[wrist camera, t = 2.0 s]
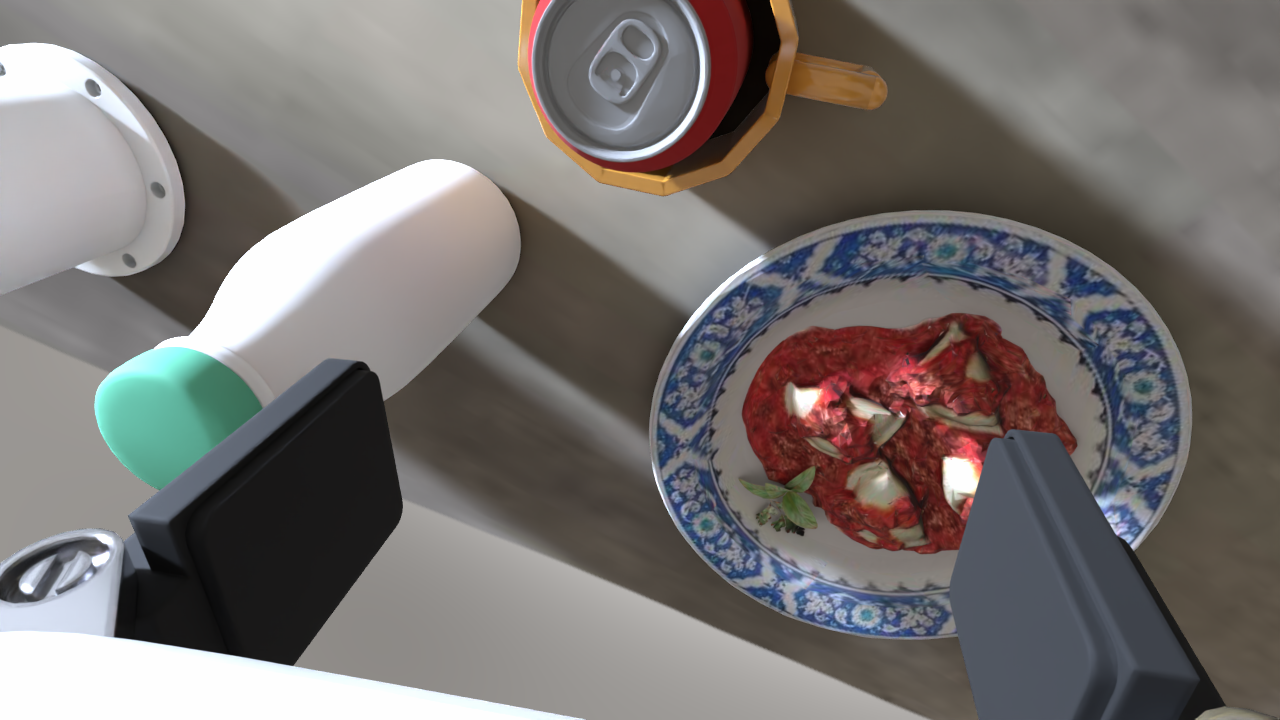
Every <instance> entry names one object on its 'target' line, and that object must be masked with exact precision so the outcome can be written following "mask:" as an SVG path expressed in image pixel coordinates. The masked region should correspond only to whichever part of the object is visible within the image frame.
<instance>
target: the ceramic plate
mask: <svg viewBox="0 0 1280 720" xmlns="http://www.w3.org/2000/svg"><path fill="white" fill-rule="evenodd" d="M1011 429H1016V430H1025V431H1035V432H1045V433H1053V434H1056V435H1057V436H1058V437H1059V438H1060V439H1061V441H1062V443H1063V445H1064V446H1065V448H1066V450H1067V451H1068V453H1069V455H1070V457H1071V458H1072V460H1073V462H1074V463H1075V465H1076V467H1077V469H1078V470H1079V472H1080V474H1081V476H1082V477H1083V479H1084V481H1085V482H1086V484H1087V486H1088V488H1089V489H1090V491H1091V493H1092V494H1093V496H1094V498H1095V500H1096V501H1097V503H1098V505H1099V506H1100V508H1101V510H1102V512H1103V513H1104V515H1105V517H1106V518H1107V520H1108V522H1109V524H1110V525H1111V527H1112V529H1113V530H1114V532H1115V534H1116V536H1119V537H1121V538H1123V539H1125V540H1126V542H1127V543H1128V544H1129V545H1130V547H1131V548H1132V549H1133V551H1135V550H1136V549H1137V548H1138V547H1139V546H1140V544H1141V543H1142V542H1143V541H1144V540H1145V538H1146V537H1147V536H1148V535H1149V534H1150V532H1151V531H1152V530H1153V529H1154V528H1155V526H1156V525H1157V524H1158V522H1159V521H1160V519H1161V517H1162V516H1163V514H1164V512H1165V511H1166V509H1167V507H1168V505H1169V503H1170V501H1171V499H1172V497H1173V495H1174V493H1175V491H1176V489H1177V487H1178V485H1179V482H1180V479H1181V476H1182V474H1183V471H1184V468H1185V465H1186V463H1187V458H1188V453H1189V448H1190V442H1191V430H1192V402H1191V393H1190V388H1189V382H1188V377H1187V373H1186V370H1185V367H1184V364H1183V361H1182V358H1181V355H1180V352H1179V350H1178V348H1177V346H1176V344H1175V342H1174V340H1173V338H1172V336H1171V334H1170V332H1169V330H1168V328H1167V326H1166V325H1165V323H1164V322H1163V321H1162V319H1161V318H1160V316H1159V315H1158V313H1157V312H1156V310H1155V309H1154V307H1153V306H1152V305H1151V304H1150V303H1149V302H1148V301H1147V299H1146V298H1145V297H1144V296H1143V295H1142V294H1141V293H1140V292H1139V291H1138V289H1137V288H1136V287H1135V286H1134V285H1132V284H1131V283H1130V282H1129V281H1128V280H1127V279H1126V278H1124V277H1123V276H1122V275H1121V274H1120V273H1119V272H1118V271H1116V270H1115V269H1114V268H1113V267H1111V266H1110V265H1108V264H1107V263H1105V262H1104V261H1102V260H1101V259H1099V258H1098V257H1097V256H1095V255H1094V254H1092V253H1091V252H1089V251H1087V250H1085V249H1083V248H1081V247H1079V246H1077V245H1076V244H1074V243H1072V242H1070V241H1068V240H1066V239H1064V238H1062V237H1059V236H1057V235H1054V234H1052V233H1049V232H1047V231H1044V230H1042V229H1039V228H1037V227H1033V226H1030V225H1027V224H1023V223H1020V222H1016V221H1013V220H1009V219H1006V218H1000V217H995V216H990V215H984V214H979V213H971V212H960V211H949V210H911V211H900V212H889V213H881V214H876V215H870V216H865V217H859V218H854V219H850V220H847V221H843V222H839V223H836V224H832V225H829V226H825V227H822V228H820V229H817V230H815V231H812V232H809V233H807V234H804V235H801V236H799V237H796V238H794V239H792V240H790V241H788V242H786V243H784V244H782V245H780V246H778V247H776V248H774V249H772V250H770V251H769V252H767V253H765V254H764V255H762V256H760V257H759V258H757V259H756V260H754V261H752V262H751V263H749V264H748V265H746V266H745V267H744V268H742V269H741V270H740V271H738V272H737V273H736V274H734V275H733V276H732V277H730V278H729V279H728V280H727V281H726V282H724V283H723V284H722V285H721V286H720V287H719V288H718V289H717V290H716V291H715V292H714V293H712V294H711V295H710V296H709V297H708V299H707V300H706V301H705V302H704V303H703V304H702V305H701V306H700V307H699V309H698V310H697V311H696V312H695V313H694V314H693V315H692V317H691V318H690V320H689V321H688V322H687V324H686V325H685V327H684V328H683V329H682V331H681V332H680V334H679V335H678V337H677V338H676V340H675V342H674V344H673V346H672V348H671V350H670V352H669V354H668V356H667V358H666V360H665V362H664V365H663V367H662V369H661V371H660V374H659V377H658V380H657V384H656V387H655V391H654V394H653V400H652V407H651V413H650V423H649V443H650V455H651V461H652V467H653V472H654V476H655V479H656V482H657V486H658V489H659V492H660V494H661V497H662V499H663V502H664V504H665V506H666V508H667V510H668V512H669V514H670V516H671V518H672V519H673V521H674V523H675V525H676V527H677V529H678V530H679V531H680V533H681V534H682V535H683V537H684V538H685V540H686V541H687V542H688V543H689V544H690V546H691V547H692V548H693V549H694V551H695V552H696V553H697V554H698V555H699V556H700V557H701V558H702V559H703V560H704V561H705V562H706V563H707V564H708V565H709V566H710V567H711V568H712V569H713V570H714V571H715V572H716V573H718V574H719V575H720V576H721V577H722V578H723V579H725V580H726V581H727V582H728V583H729V584H730V585H732V586H733V587H735V588H737V589H738V590H740V591H741V592H743V593H744V594H746V595H748V596H749V597H751V598H753V599H754V600H756V601H758V602H759V603H761V604H763V605H765V606H767V607H769V608H771V609H773V610H775V611H777V612H779V613H781V614H783V615H785V616H788V617H791V618H793V619H796V620H799V621H802V622H805V623H808V624H811V625H814V626H817V627H821V628H825V629H829V630H833V631H837V632H841V633H846V634H851V635H856V636H861V637H867V638H881V639H902V640H921V639H937V638H948V637H957V636H958V633H957V629H956V625H955V621H954V617H953V613H952V609H951V605H950V597H949V588H950V580H951V576H952V573H953V569H954V566H955V562H956V559H957V555H958V552H959V548H960V545H961V541H962V538H963V534H964V531H965V527H966V524H967V520H968V517H969V513H970V510H971V506H972V503H973V499H974V495H975V492H976V488H977V485H978V481H979V478H980V474H981V471H982V467H983V464H984V460H985V457H986V453H987V450H988V447H989V444H990V442H991V440H992V439H993V438H1004V436H1005V435H1006V433H1007V432H1008V431H1009V430H1011Z"/></svg>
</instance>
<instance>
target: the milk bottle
mask: <svg viewBox="0 0 1280 720" xmlns="http://www.w3.org/2000/svg"><path fill="white" fill-rule="evenodd" d="M520 251H521V238H520V230H519V225H518V222H517V219H516V216H515V213H514V211H513V209H512V207H511V205H510V203H509V201H508V199H507V198H506V197H505V196H504V194H503V193H502V192H501V190H500V189H499V188H498V187H497V186H496V185H495V184H494V183H493V182H492V181H491V180H490V179H489V178H487V177H486V176H484V175H483V174H481V173H480V172H478V171H477V170H475V169H473V168H471V167H469V166H467V165H464V164H461V163H458V162H454V161H449V160H428V161H423V162H420V163H417V164H414V165H411V166H409V167H406V168H404V169H402V170H400V171H397V172H395V173H393V174H391V175H389V176H387V177H384V178H382V179H380V180H378V181H376V182H374V183H371V184H369V185H367V186H365V187H363V188H361V189H359V190H356V191H354V192H352V193H350V194H348V195H346V196H344V197H341V198H339V199H337V200H335V201H333V202H331V203H329V204H327V205H325V206H323V207H321V208H319V209H317V210H315V211H313V212H310V213H308V214H306V215H304V216H302V217H301V218H299V219H297V220H295V221H293V222H291V223H290V224H288V225H286V226H284V227H282V228H280V229H279V230H277V231H275V232H273V233H272V234H270V235H269V236H267V237H266V238H265V239H263V240H262V241H260V242H259V243H258V244H256V245H255V246H254V247H253V248H251V249H250V250H249V251H248V252H247V253H246V254H245V255H244V256H243V257H242V258H241V259H240V260H239V261H238V262H237V264H236V265H235V266H234V267H233V269H232V270H231V271H230V273H229V274H228V276H227V277H226V278H225V280H224V282H223V284H222V286H221V287H220V289H219V291H218V293H217V295H216V297H215V299H214V301H213V304H212V306H211V308H210V309H209V311H208V313H207V314H206V316H205V318H204V319H203V320H202V322H201V323H200V324H199V325H198V327H197V328H196V329H195V330H194V331H193V332H192V333H191V335H189V336H188V337H176V338H172V339H169V340H166V341H164V342H162V343H160V344H159V345H158V346H156V347H155V348H154V349H153V350H150V351H147V352H145V353H143V354H141V355H139V356H137V357H135V358H133V359H131V360H130V361H128V362H126V363H125V364H123V365H122V366H120V367H118V368H117V369H115V370H114V371H113V372H111V373H110V374H109V375H108V376H107V378H106V379H105V380H104V381H103V382H102V383H101V385H100V386H99V388H98V390H97V393H96V397H95V414H96V418H97V423H98V426H99V428H100V431H101V433H102V436H103V438H104V439H105V441H106V443H107V445H108V446H109V448H110V449H111V451H112V452H113V453H114V455H115V456H116V457H117V458H118V459H119V460H120V462H121V463H122V464H123V465H124V466H125V467H126V468H127V469H129V470H130V471H131V472H132V473H133V474H134V475H136V476H137V477H138V478H140V479H141V480H142V481H144V482H146V483H147V484H149V485H150V486H152V487H154V488H156V489H158V490H161V489H162V488H164V487H165V486H166V485H167V484H169V483H170V482H171V481H172V480H174V479H175V478H176V477H177V476H179V475H180V474H181V473H182V472H184V471H185V470H186V469H188V468H189V467H190V466H191V465H193V464H194V463H195V462H196V461H198V460H199V459H200V458H201V457H203V456H204V455H205V454H206V453H208V452H209V451H210V450H211V449H213V448H214V447H215V446H217V445H218V444H219V443H220V442H222V441H223V440H224V439H225V438H227V437H228V436H229V435H230V434H232V433H233V432H234V431H235V430H237V429H238V428H239V427H240V426H242V425H243V424H244V423H246V422H247V421H248V420H249V419H251V418H252V417H253V416H254V415H256V414H257V413H258V412H259V411H261V410H262V409H263V408H264V407H266V406H267V405H268V404H269V403H271V402H272V401H273V400H275V399H276V398H277V397H278V396H280V395H281V394H282V393H283V392H285V391H286V390H287V389H288V388H290V387H291V386H292V385H293V384H295V383H296V382H297V381H299V380H300V379H301V378H302V377H304V376H305V375H306V374H307V373H309V372H310V371H311V370H312V369H314V368H315V367H316V366H317V365H319V364H320V363H321V362H322V361H324V360H326V359H328V358H334V359H344V360H353V361H363V362H364V363H366V364H367V365H368V367H369V368H370V371H373V372H375V373H376V374H377V375H378V377H379V381H380V385H381V391H382V396H383V401H385V400H386V399H388V398H389V397H391V396H392V395H394V394H395V393H396V392H398V391H399V390H401V389H402V388H403V387H404V386H406V385H407V384H408V383H409V382H410V381H411V380H412V379H413V378H415V377H416V376H417V375H418V374H419V373H420V372H421V371H422V370H423V369H424V368H426V367H427V366H428V365H429V364H430V363H431V362H432V361H433V360H434V359H435V358H436V357H437V356H438V355H439V354H440V353H441V352H442V351H443V350H444V349H445V348H446V347H447V346H448V345H449V344H450V343H451V342H452V341H453V340H454V339H455V338H456V337H457V336H458V335H459V334H460V333H461V332H462V331H463V330H464V329H465V328H466V327H467V325H468V324H469V323H470V322H471V321H472V320H473V319H474V318H475V317H476V316H477V315H478V314H479V313H480V312H481V311H482V310H483V309H484V308H485V307H486V306H487V305H488V304H489V303H490V302H491V301H492V300H493V299H494V298H495V297H496V296H497V295H498V293H499V292H500V291H501V290H502V289H503V288H504V287H505V285H506V284H507V283H508V282H509V281H510V279H511V278H512V276H513V274H514V272H515V270H516V268H517V265H518V262H519V258H520Z"/></svg>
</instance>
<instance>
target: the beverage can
mask: <svg viewBox="0 0 1280 720" xmlns="http://www.w3.org/2000/svg"><path fill="white" fill-rule="evenodd" d="M753 43H754V32H753V23H752V18H751V14H750V10H749V8H748V5H747V2H746V0H540V2H539V4H538V6H537V8H536V11H535V14H534V17H533V20H532V24H531V29H530V35H529V43H528V66H529V74H530V80H531V84H532V88H533V92H534V95H535V98H536V100H537V103H538V105H539V107H540V109H541V112H542V114H543V115H544V117H545V119H546V120H547V122H548V124H549V125H550V126H551V128H552V129H553V131H554V132H555V133H556V134H557V135H558V137H559V138H560V139H561V140H562V141H563V142H564V143H565V144H566V145H567V146H568V147H570V148H571V149H572V150H573V151H575V152H576V153H577V154H579V155H580V156H582V157H583V158H585V159H587V160H589V161H590V162H592V163H594V164H597V165H599V166H602V167H605V168H608V169H611V170H616V171H622V172H634V173H636V172H649V171H654V170H659V169H662V168H665V167H668V166H671V165H673V164H675V163H678V162H679V161H681V160H683V159H685V158H686V157H688V156H689V155H691V154H692V153H694V152H695V151H696V150H697V149H699V148H700V147H701V146H702V145H703V144H704V143H705V142H706V141H707V140H708V139H709V137H710V136H711V135H712V134H713V133H714V131H715V130H716V129H717V127H718V126H719V124H720V122H721V121H722V119H723V118H724V116H725V114H726V113H727V111H728V110H729V108H730V106H731V104H732V103H733V101H734V99H735V97H736V95H737V93H738V91H739V89H740V87H741V85H742V83H743V81H744V79H745V76H746V74H747V71H748V69H749V66H750V62H751V58H752V53H753Z"/></svg>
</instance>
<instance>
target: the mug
mask: <svg viewBox="0 0 1280 720" xmlns="http://www.w3.org/2000/svg"><path fill="white" fill-rule="evenodd" d="M539 2H540V0H522V9H521V24H520V38H519V53H518V69H519V72H520V74H521V77H522V79H523V82H524V84H525V87H526V89H527V92H528V94H529V96H530V99H531V101H532V104H533V106H534V109H535V111H536V114H537V116H538V118H539V121H540V123H541V126H542V128H543V131H544V133H545V135H546V137H547V138H548V139H549V140H550V141H551V142H553V143H554V144H555V145H556V146H557V147H558V148H559V149H561V150H562V151H563V152H564V153H565V154H566V155H568V156H569V157H570V158H571V159H572V160H573V161H574V162H576V163H577V164H578V165H579V166H580V167H581V168H582V169H584V170H585V171H586V172H587V173H588V174H589V175H591V176H592V177H593V178H594V179H595V180H596V181H598V182H599V183H603V184H608V185H612V186H617V187H622V188H626V189H631V190H636V191H640V192H645V193H650V194H654V195H659V196H668V195H671V194H674V193H677V192H680V191H683V190H686V189H689V188H692V187H695V186H698V185H701V184H704V183H707V182H710V181H713V180H716V179H719V178H722V177H725V176H728V175H729V174H731V173H732V172H733V171H734V170H735V168H736V167H737V166H738V165H739V164H740V163H741V162H742V161H743V160H744V158H745V157H746V156H747V155H748V154H749V153H750V152H751V151H752V150H753V149H754V147H755V146H756V145H757V144H758V143H759V142H760V141H761V140H762V139H763V137H764V136H765V135H766V134H767V133H768V132H769V131H770V130H771V129H772V128H773V126H774V125H775V124H776V123H777V122H778V120H779V118H780V116H781V112H782V108H783V104H784V100H785V96H786V94H787V95H792V96H797V97H802V98H807V99H812V100H817V101H823V102H828V103H833V104H838V105H843V106H848V107H853V108H858V109H863V110H874V109H876V108H878V107H880V106H881V105H882V104H883V103H884V102H885V100H886V98H887V95H888V87H887V84H886V82H885V81H884V80H883V79H882V77H881V76H880V75H879V74H878V73H877V72H876V71H875V70H874V69H873V68H871V67H869V66H865V65H860V64H855V63H850V62H845V61H839V60H834V59H829V58H824V57H818V56H813V55H808V54H803V53H798V52H796V51H797V47H798V43H799V34H798V26H797V22H796V18H795V14H794V10H793V6H792V2H791V0H770V3H771V7H772V11H773V14H774V18H775V22H776V26H777V29H778V33H779V37H780V41H781V44H780V48H779V51H778V52H776V53H775V54H774V55H773V56H772V57H771V59H770V61H769V65H768V67H767V69H766V72H765V81H766V84H767V86H768V87H769V88H770V90H769V91H768V93H767V94H766V95H765V96H764V97H763V98H762V99H761V101H760V102H759V103H758V104H757V105H756V106H755V107H754V109H753V110H752V111H751V112H750V113H749V114H748V115H747V117H746V118H745V119H744V120H743V121H742V122H741V123H740V125H739V126H738V127H737V128H736V129H735V130H734V131H733V132H730V133H727V134H724V135H722V136H719V137H716V138H713V139H710V140H707V141H706V142H705V143H704V144H703V145H702V146H701V147H700V148H699V149H697V150H696V151H695V152H694V153H692V154H691V155H689V156H688V157H686V158H685V159H683V160H681V161H679V162H678V163H675V164H673V165H671V166H668V167H665V168H662V169H659V170H654V171H649V172H636V173H634V172H622V171H616V170H611V169H608V168H605V167H602V166H599V165H597V164H594V163H592V162H590V161H589V160H587V159H585V158H583V157H582V156H580V155H579V154H577V153H576V152H575V151H573V150H572V149H571V148H570V147H568V146H567V145H566V144H565V143H564V142H563V141H562V140H561V139H560V138H559V137H558V135H557V134H556V133H555V132H554V131H553V129H552V128H551V126H550V125H549V124H548V122H547V120H546V119H545V117H544V115H543V114H542V112H541V109H540V107H539V105H538V103H537V100H536V98H535V95H534V92H533V88H532V84H531V80H530V74H529V66H528V43H529V35H530V29H531V24H532V20H533V17H534V14H535V11H536V8H537V6H538V4H539Z"/></svg>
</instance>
